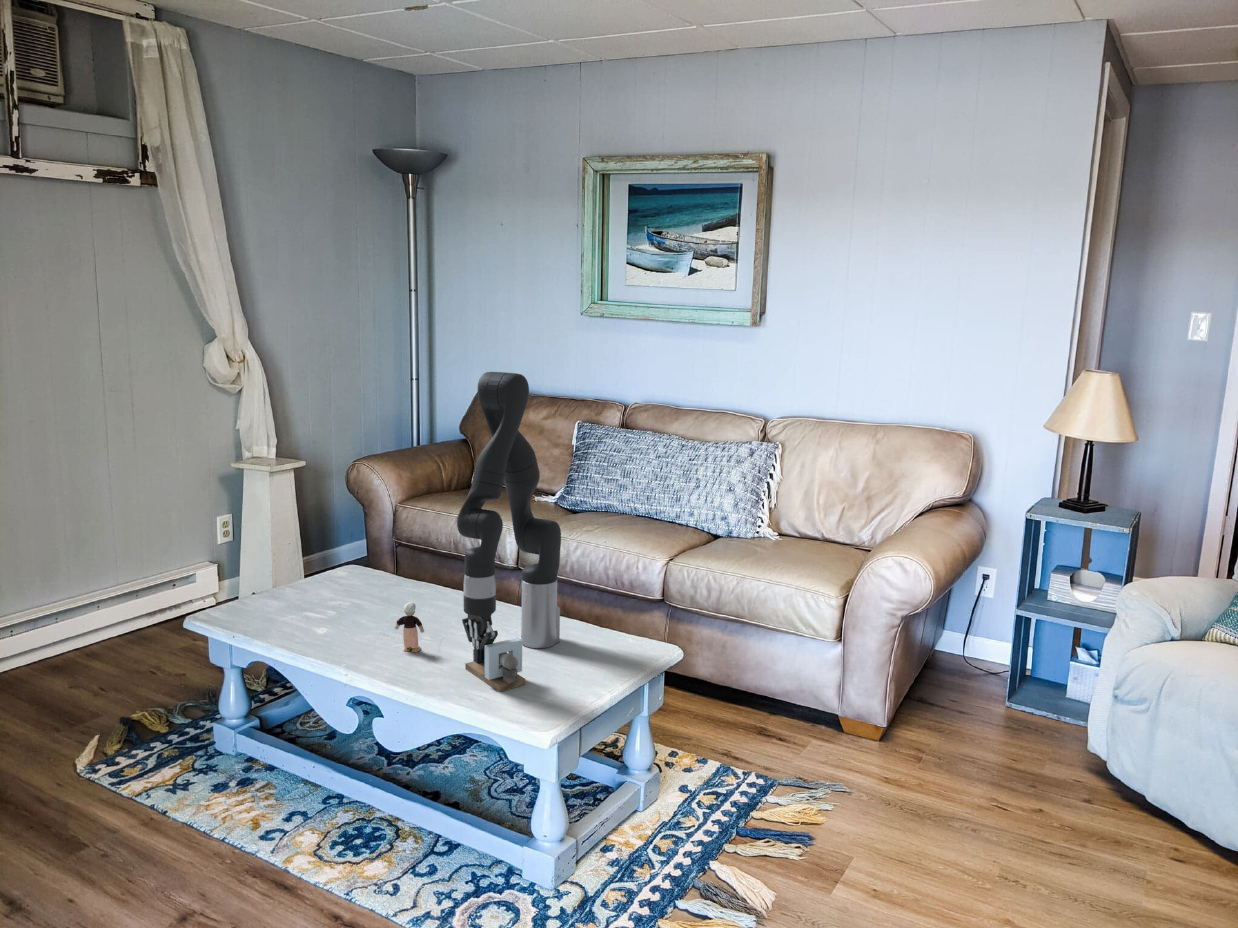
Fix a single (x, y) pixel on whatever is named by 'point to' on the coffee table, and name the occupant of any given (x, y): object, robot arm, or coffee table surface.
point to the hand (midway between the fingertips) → (479, 662)
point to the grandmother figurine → (410, 628)
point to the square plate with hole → (493, 653)
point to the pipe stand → (509, 673)
